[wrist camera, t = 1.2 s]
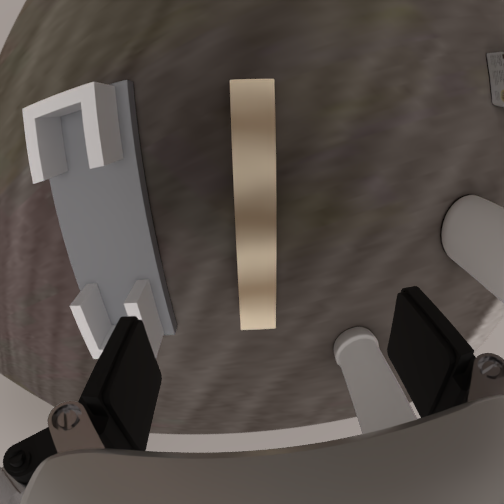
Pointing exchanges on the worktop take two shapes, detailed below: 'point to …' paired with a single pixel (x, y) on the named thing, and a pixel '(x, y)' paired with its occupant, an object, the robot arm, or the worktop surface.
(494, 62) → the coffee box
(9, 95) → the worktop surface
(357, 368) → the bottle
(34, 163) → the grey holder stand
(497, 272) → the milk bottle
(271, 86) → the slat
